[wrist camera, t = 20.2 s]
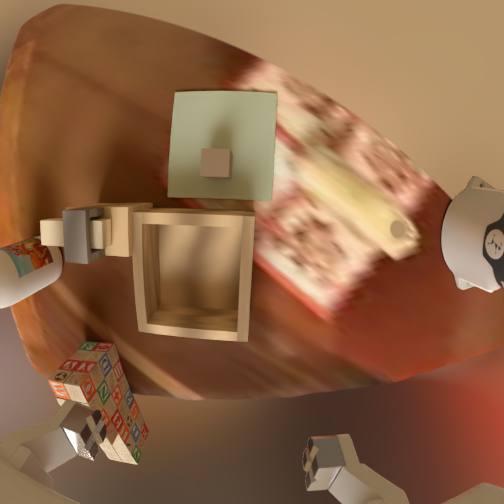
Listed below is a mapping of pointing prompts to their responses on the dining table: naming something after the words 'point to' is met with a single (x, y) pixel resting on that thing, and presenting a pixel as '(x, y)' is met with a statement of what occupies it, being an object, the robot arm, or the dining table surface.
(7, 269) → the milk bottle
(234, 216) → the wooden cabinet
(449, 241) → the robot arm
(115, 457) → the stack of blocks
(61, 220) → the wooden block
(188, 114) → the lid
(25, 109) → the dining table surface
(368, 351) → the dining table surface
